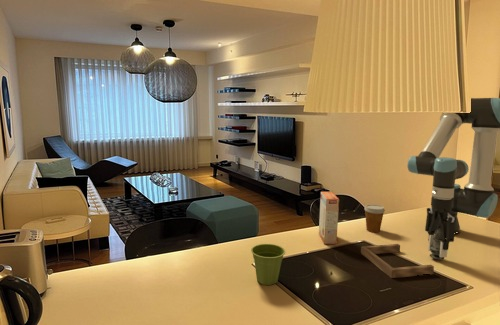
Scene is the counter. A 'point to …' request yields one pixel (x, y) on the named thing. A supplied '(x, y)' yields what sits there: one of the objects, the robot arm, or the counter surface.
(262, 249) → the plant pot
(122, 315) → the counter surface
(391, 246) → the brown u-shaped bracket
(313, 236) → the counter surface
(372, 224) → the disposable coffee cup
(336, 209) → the cracker box
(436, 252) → the dark grey candlestick
